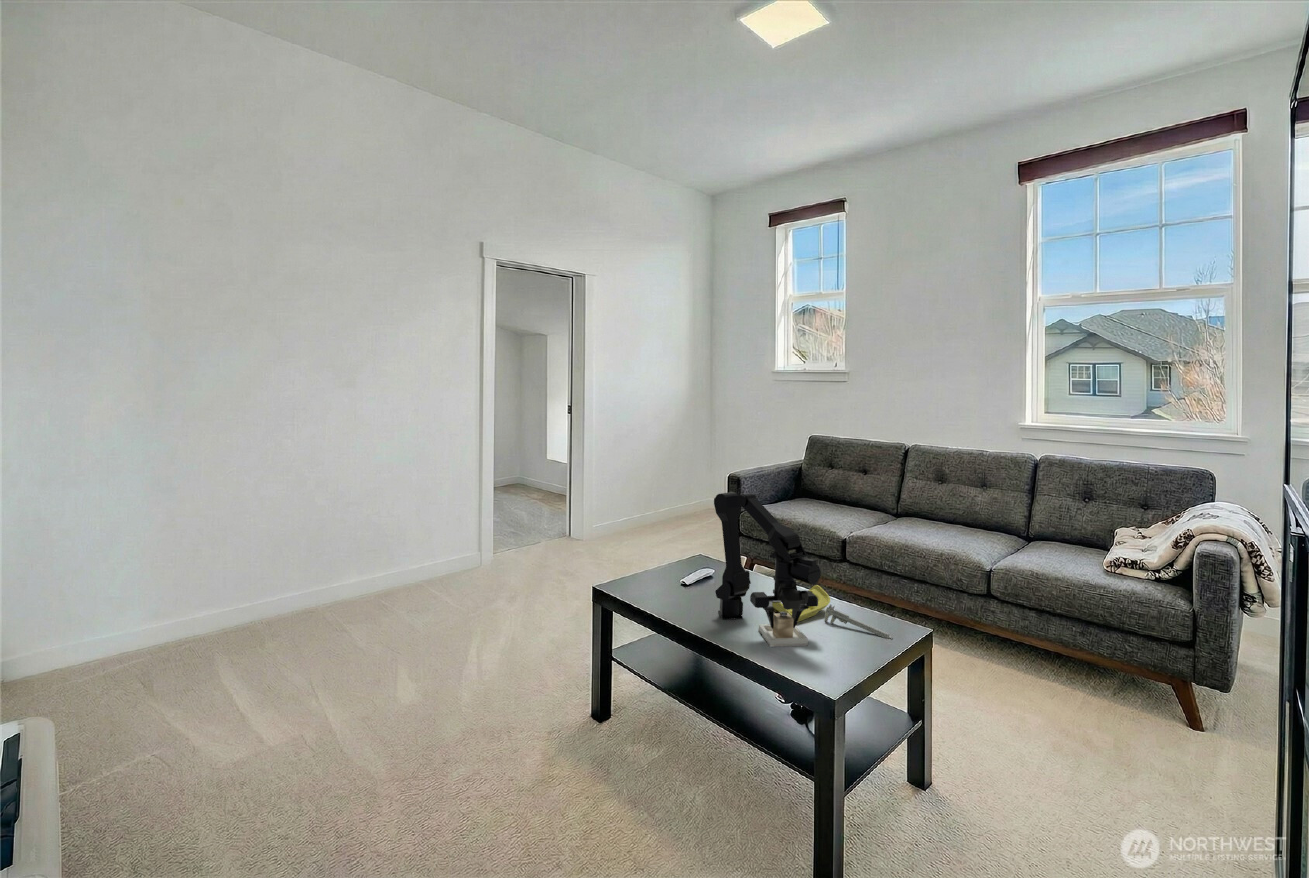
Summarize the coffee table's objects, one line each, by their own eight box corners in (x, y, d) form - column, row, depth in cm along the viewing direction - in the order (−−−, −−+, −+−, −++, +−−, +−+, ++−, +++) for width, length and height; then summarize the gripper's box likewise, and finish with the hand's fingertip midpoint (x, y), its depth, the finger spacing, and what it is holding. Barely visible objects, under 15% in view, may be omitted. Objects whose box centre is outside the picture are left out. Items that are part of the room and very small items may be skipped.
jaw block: (777, 639, 172) (778, 616, 171) (772, 633, 176) (773, 610, 176) (792, 639, 172) (793, 615, 172) (787, 632, 177) (788, 609, 176)
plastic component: (794, 618, 184) (772, 596, 191) (786, 635, 187) (766, 612, 194) (836, 601, 195) (814, 581, 202) (828, 617, 198) (807, 597, 205)
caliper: (824, 623, 187) (825, 603, 186) (825, 622, 188) (826, 602, 187) (892, 640, 175) (893, 619, 174) (893, 639, 176) (894, 618, 175)
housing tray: (770, 646, 168) (770, 639, 168) (758, 631, 179) (758, 624, 179) (807, 645, 170) (808, 638, 169) (793, 629, 180) (794, 623, 180)
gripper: (762, 585, 164) (760, 640, 165) (827, 583, 166) (824, 638, 167) (750, 572, 175) (748, 624, 176) (811, 571, 177) (809, 622, 178)
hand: (782, 627), depth 174 cm, fingers open, 6 cm apart
